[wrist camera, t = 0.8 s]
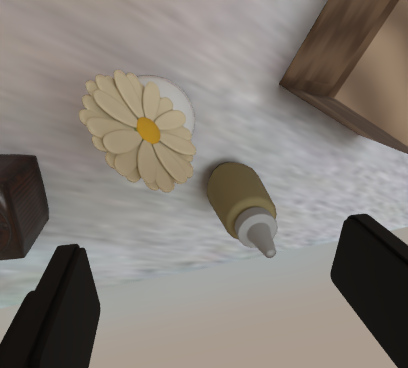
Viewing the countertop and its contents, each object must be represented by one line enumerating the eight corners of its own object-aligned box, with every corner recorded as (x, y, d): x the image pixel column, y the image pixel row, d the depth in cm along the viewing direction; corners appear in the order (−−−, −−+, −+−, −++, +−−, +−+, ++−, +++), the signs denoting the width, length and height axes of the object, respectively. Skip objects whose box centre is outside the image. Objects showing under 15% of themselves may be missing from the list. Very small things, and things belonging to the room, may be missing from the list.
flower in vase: (203, 142, 40) (264, 254, 17) (131, 169, 40) (99, 316, 17) (171, 47, 34) (200, 35, 12) (85, 79, 34) (-50, 129, 12)
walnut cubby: (343, -27, 33) (446, -70, 21) (425, 46, 39) (542, 42, 27) (278, 84, 38) (334, 97, 26) (360, 134, 43) (436, 165, 32)
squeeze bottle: (253, 196, 45) (306, 274, 29) (205, 205, 44) (233, 290, 28) (251, 150, 41) (311, 211, 25) (199, 159, 41) (228, 227, 25)
